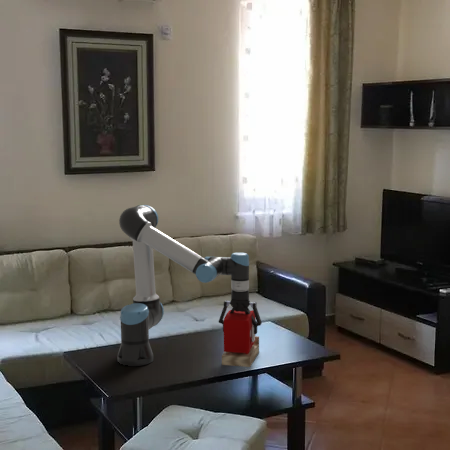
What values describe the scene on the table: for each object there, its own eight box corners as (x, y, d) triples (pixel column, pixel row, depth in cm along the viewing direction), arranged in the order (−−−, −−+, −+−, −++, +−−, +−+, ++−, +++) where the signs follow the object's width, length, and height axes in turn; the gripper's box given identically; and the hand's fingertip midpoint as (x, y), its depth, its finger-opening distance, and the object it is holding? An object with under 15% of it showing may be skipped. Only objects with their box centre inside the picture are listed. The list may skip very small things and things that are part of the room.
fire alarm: (249, 354, 284) (249, 318, 282) (223, 352, 286) (223, 317, 284) (255, 342, 300) (255, 308, 298) (231, 340, 302) (231, 307, 300)
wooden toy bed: (221, 364, 287) (221, 348, 286) (232, 349, 306) (232, 334, 305) (250, 367, 284) (250, 350, 283) (259, 351, 303) (259, 336, 302)
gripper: (211, 290, 289) (211, 340, 292) (265, 293, 283) (265, 344, 286) (215, 286, 296) (215, 335, 299) (269, 289, 290) (268, 339, 293)
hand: (240, 340), depth 293 cm, fingers closed on fire alarm, 11 cm apart
